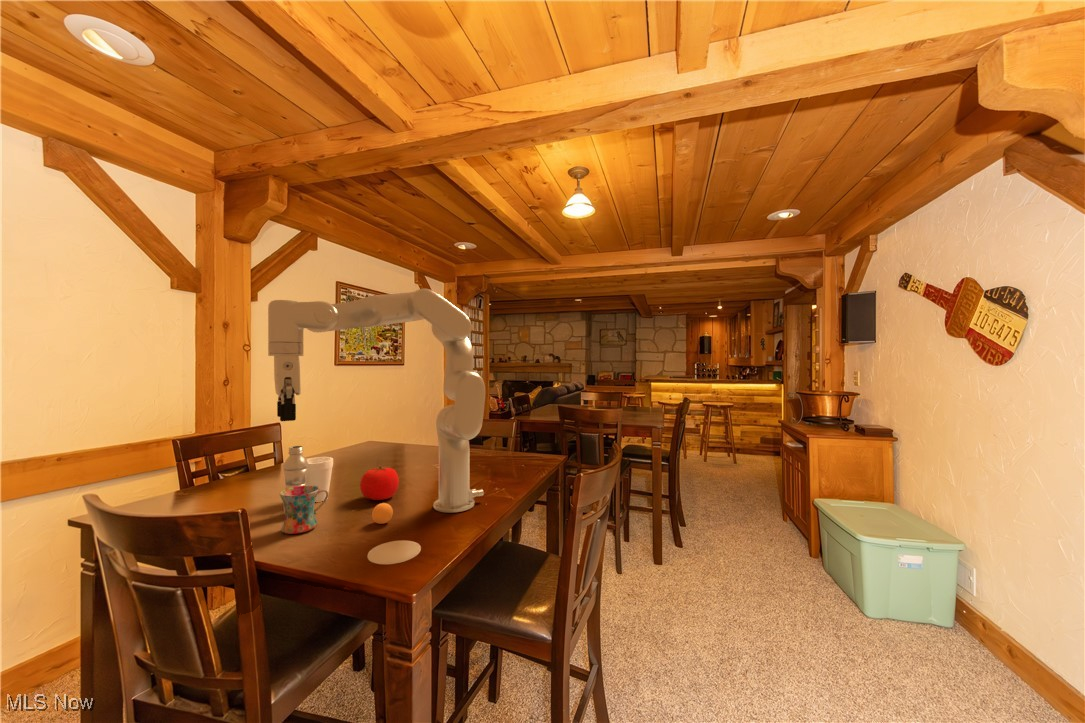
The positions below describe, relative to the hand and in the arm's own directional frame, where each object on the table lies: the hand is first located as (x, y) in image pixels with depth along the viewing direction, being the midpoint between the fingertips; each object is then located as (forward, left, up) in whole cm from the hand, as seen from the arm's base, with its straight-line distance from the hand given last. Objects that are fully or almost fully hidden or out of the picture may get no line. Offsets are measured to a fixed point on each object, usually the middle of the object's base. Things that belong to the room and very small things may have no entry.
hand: (286, 418), depth 104 cm
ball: (-23, +1, -28) cm, 37 cm away
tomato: (-28, -21, -32) cm, 47 cm away
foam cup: (-11, -32, -31) cm, 46 cm away
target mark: (-20, +21, -31) cm, 43 cm away
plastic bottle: (-4, -21, -31) cm, 38 cm away
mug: (-5, -8, -32) cm, 33 cm away
